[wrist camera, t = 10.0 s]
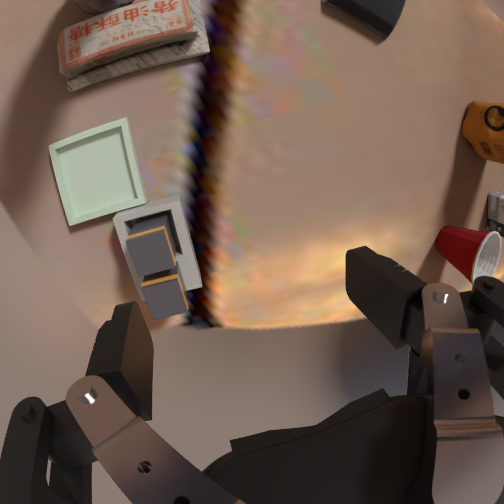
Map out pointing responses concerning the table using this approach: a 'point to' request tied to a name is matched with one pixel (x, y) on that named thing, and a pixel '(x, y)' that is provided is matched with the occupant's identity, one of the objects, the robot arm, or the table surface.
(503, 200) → the label tape box
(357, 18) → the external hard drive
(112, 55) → the packaged product
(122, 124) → the tray
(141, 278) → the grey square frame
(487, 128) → the coffee package
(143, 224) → the plug
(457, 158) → the table surface
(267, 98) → the table surface
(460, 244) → the plastic cup
